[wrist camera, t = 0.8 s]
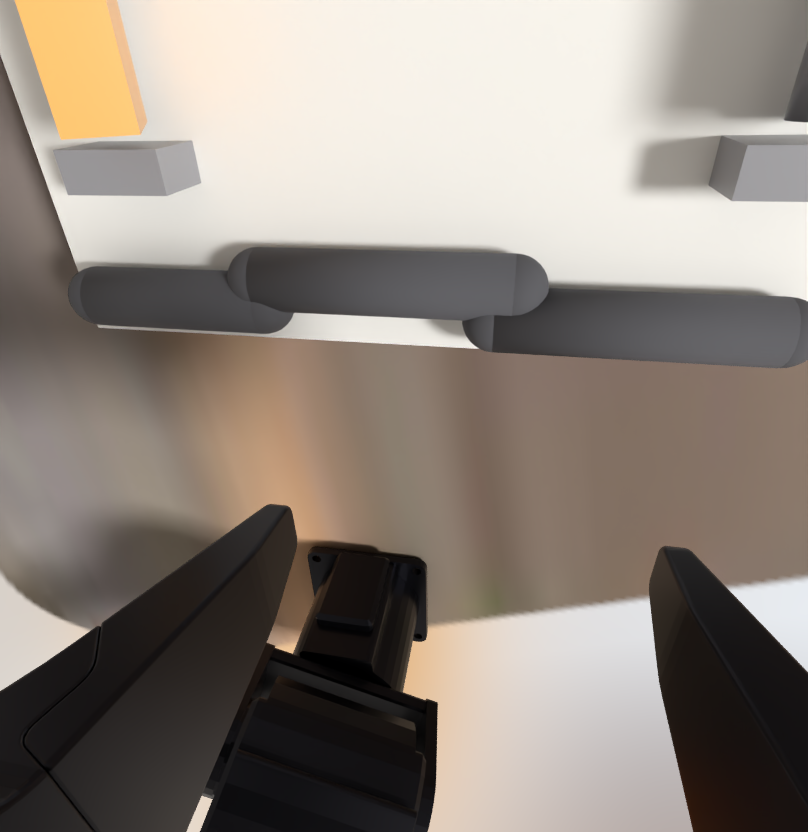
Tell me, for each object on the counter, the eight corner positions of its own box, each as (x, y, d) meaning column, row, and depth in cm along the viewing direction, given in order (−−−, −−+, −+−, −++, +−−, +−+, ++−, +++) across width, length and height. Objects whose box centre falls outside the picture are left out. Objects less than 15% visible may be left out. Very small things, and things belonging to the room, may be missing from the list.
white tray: (753, 326, 19) (815, 398, 15) (143, 299, 23) (61, 350, 19) (1085, -630, 10) (1511, -1155, 5) (-65, -391, 14) (-321, -586, 9)
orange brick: (150, 126, 16) (143, 144, 12) (92, 129, 16) (64, 150, 12) (102, -67, 14) (72, -126, 10) (32, -70, 14) (-30, -132, 9)
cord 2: (793, 351, 17) (822, 383, 15) (105, 316, 20) (69, 338, 19) (832, 252, 15) (870, 276, 13) (77, 234, 19) (34, 251, 17)
